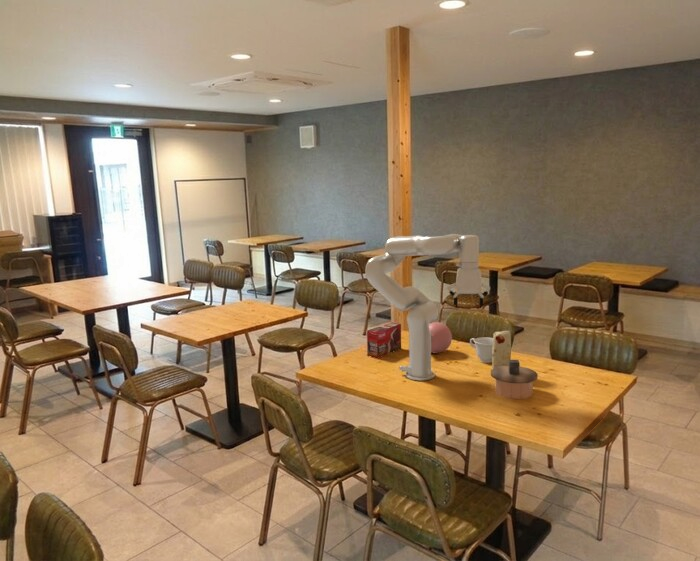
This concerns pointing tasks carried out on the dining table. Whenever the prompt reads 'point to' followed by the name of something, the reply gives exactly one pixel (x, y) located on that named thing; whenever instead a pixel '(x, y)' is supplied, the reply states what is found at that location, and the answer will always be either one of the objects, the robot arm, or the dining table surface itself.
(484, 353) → the teacup
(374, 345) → the ice cream box
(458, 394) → the dining table surface
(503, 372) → the lid
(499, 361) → the food model
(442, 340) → the balloon
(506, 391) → the bowl
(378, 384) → the dining table surface
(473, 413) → the dining table surface
